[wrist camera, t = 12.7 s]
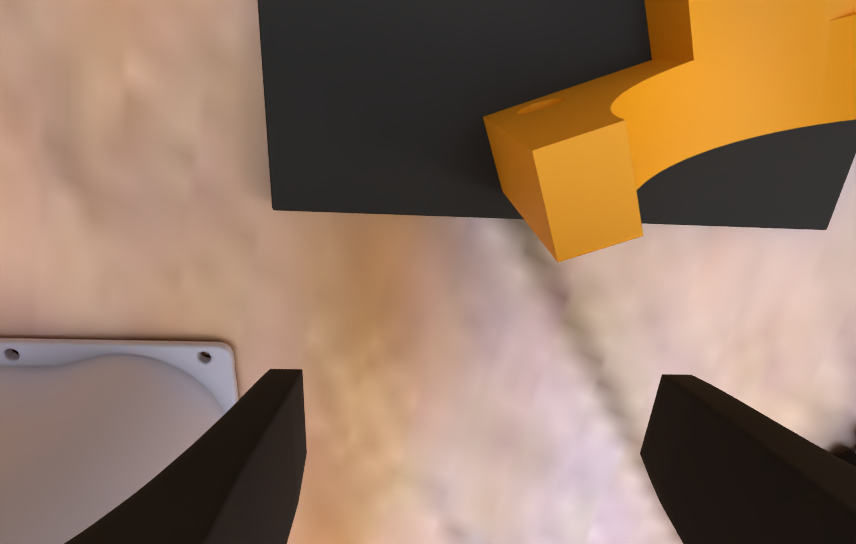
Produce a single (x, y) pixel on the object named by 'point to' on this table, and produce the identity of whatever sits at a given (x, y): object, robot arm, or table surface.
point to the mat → (486, 94)
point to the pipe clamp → (671, 110)
